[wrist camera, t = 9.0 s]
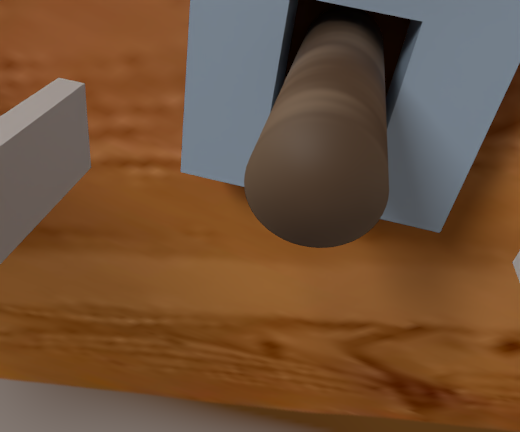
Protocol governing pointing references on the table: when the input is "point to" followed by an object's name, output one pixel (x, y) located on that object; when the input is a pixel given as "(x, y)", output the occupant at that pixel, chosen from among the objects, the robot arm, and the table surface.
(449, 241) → the table surface
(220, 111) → the socket block
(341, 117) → the peg
